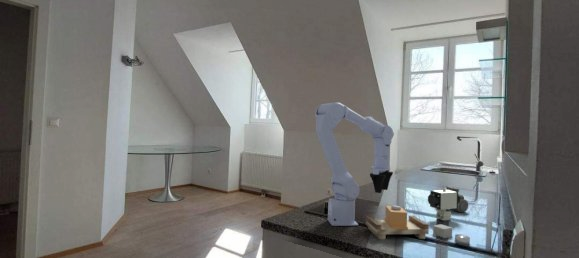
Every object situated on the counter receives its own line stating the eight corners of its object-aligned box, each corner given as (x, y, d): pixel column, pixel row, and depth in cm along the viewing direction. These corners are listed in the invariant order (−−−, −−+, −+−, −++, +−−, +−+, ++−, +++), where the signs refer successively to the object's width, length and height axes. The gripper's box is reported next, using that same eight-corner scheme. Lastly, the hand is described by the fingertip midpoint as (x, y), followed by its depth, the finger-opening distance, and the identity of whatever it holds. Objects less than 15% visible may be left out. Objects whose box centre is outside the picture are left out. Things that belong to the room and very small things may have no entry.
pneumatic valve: (460, 220, 120) (461, 189, 120) (436, 222, 116) (436, 190, 116) (449, 216, 125) (449, 186, 125) (425, 218, 122) (425, 187, 122)
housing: (391, 228, 98) (391, 210, 98) (384, 219, 108) (384, 202, 108) (407, 229, 98) (408, 211, 98) (399, 220, 108) (399, 203, 108)
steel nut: (469, 247, 92) (469, 240, 92) (454, 243, 95) (454, 237, 94) (469, 242, 96) (470, 236, 96) (455, 239, 98) (455, 233, 98)
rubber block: (444, 238, 99) (444, 229, 99) (433, 234, 103) (433, 225, 103) (452, 236, 101) (452, 227, 101) (440, 233, 105) (441, 224, 105)
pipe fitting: (433, 205, 141) (437, 183, 140) (446, 206, 143) (450, 184, 143) (455, 216, 129) (459, 192, 129) (469, 216, 132) (474, 192, 131)
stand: (376, 239, 97) (376, 224, 97) (365, 228, 107) (365, 215, 107) (428, 238, 98) (428, 224, 98) (413, 228, 108) (413, 215, 108)
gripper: (378, 154, 129) (377, 187, 129) (365, 156, 117) (364, 192, 117) (395, 155, 125) (394, 189, 125) (384, 157, 113) (383, 195, 113)
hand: (381, 191), depth 121 cm, fingers open, 7 cm apart
